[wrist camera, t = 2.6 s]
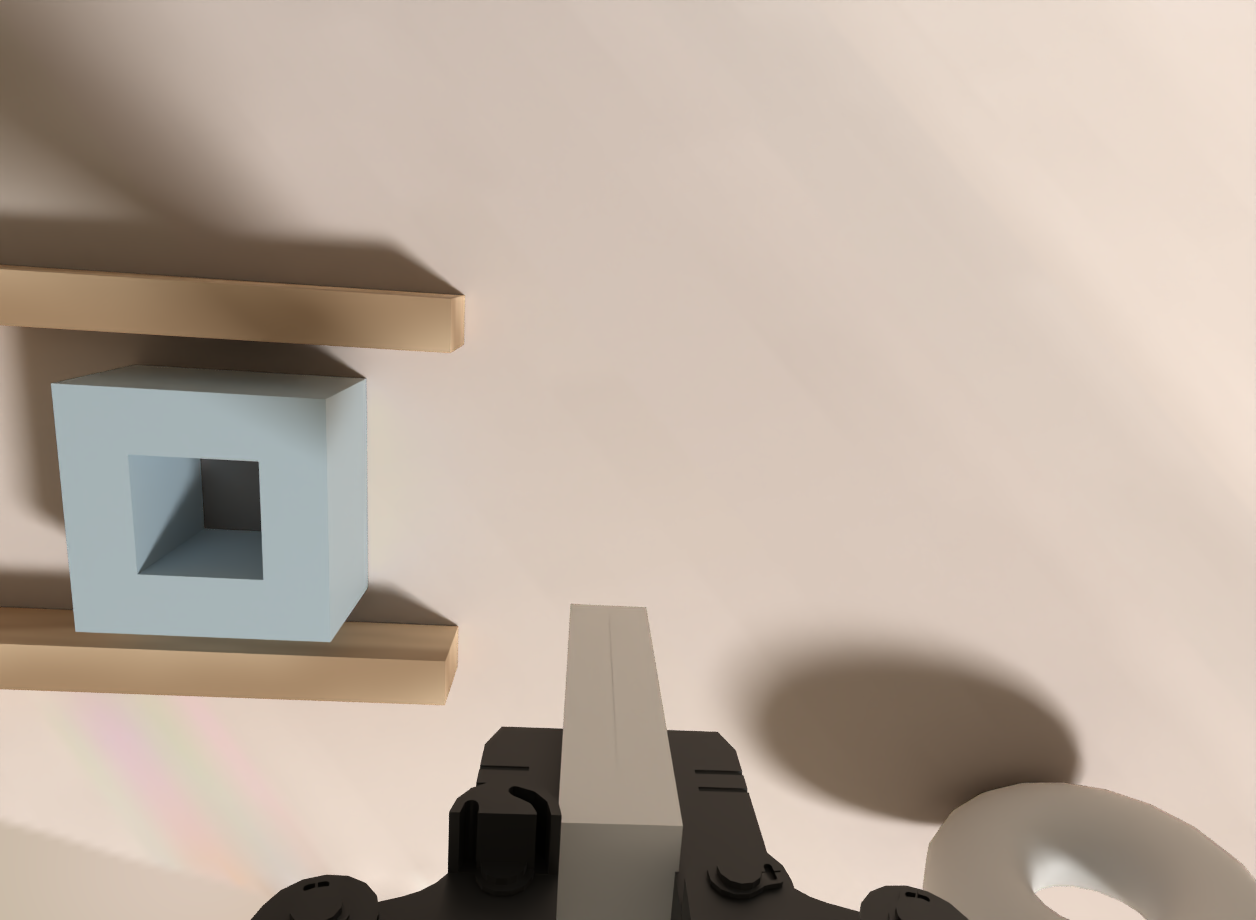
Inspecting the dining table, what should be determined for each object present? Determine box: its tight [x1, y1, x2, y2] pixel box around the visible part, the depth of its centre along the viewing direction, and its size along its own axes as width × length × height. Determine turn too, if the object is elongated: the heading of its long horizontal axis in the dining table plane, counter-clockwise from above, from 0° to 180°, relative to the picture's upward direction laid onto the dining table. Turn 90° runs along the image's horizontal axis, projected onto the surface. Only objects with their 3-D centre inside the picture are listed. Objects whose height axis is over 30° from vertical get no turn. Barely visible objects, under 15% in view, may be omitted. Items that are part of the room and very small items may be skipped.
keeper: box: [51, 365, 368, 642], centre depth 24 cm, size 7×7×4 cm
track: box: [0, 265, 465, 705], centre depth 24 cm, size 12×24×3 cm, turn 86°
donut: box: [923, 782, 1256, 920], centre depth 25 cm, size 10×3×10 cm, turn 96°
